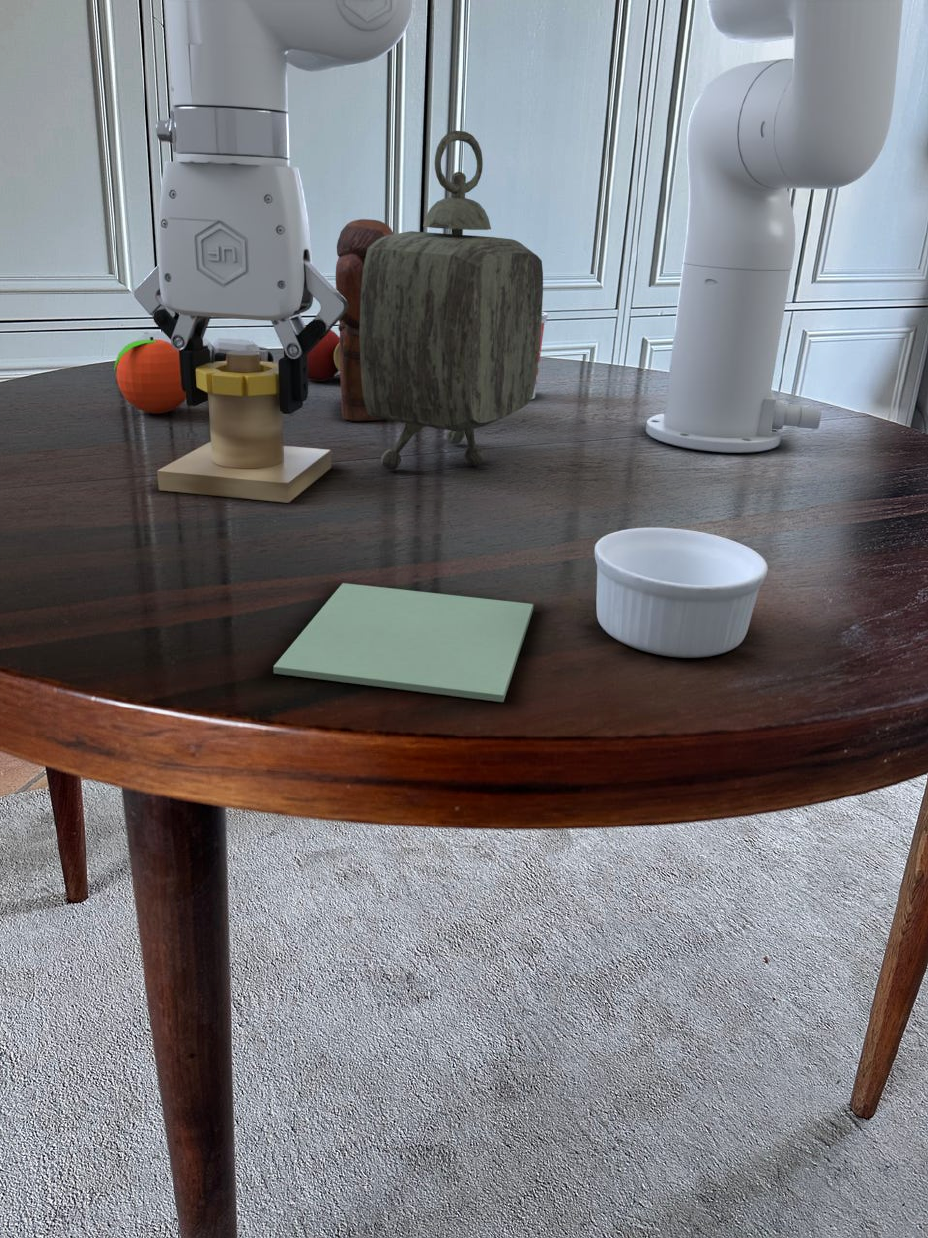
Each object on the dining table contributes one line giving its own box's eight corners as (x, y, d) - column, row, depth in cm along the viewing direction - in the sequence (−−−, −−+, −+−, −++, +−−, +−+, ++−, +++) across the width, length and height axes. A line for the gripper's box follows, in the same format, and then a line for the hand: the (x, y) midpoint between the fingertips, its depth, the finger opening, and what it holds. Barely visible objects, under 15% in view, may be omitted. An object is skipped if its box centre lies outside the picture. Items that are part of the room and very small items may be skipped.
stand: (331, 467, 80) (329, 347, 76) (288, 503, 71) (284, 368, 67) (215, 457, 82) (207, 338, 78) (158, 490, 73) (147, 358, 69)
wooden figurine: (401, 424, 95) (404, 223, 88) (334, 422, 95) (332, 220, 87) (401, 399, 106) (404, 218, 99) (341, 397, 106) (339, 215, 98)
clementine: (144, 426, 90) (136, 346, 87) (95, 414, 94) (86, 337, 91) (209, 412, 97) (205, 337, 94) (161, 402, 100) (155, 329, 97)
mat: (533, 610, 55) (533, 603, 55) (503, 702, 45) (503, 695, 45) (342, 589, 57) (342, 582, 56) (273, 673, 47) (273, 666, 47)
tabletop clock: (447, 437, 91) (458, 135, 81) (537, 453, 87) (560, 137, 77) (359, 472, 79) (358, 123, 69) (458, 491, 75) (473, 125, 65)
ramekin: (716, 595, 58) (727, 525, 56) (783, 662, 50) (798, 583, 48) (569, 599, 57) (576, 527, 55) (614, 669, 49) (624, 587, 47)
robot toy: (269, 374, 120) (140, 365, 116) (271, 336, 118) (139, 325, 115) (275, 395, 109) (132, 385, 105) (277, 353, 108) (131, 341, 104)
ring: (301, 382, 76) (301, 363, 75) (270, 398, 70) (270, 378, 69) (220, 376, 77) (219, 357, 76) (183, 391, 71) (181, 372, 70)
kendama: (444, 387, 119) (294, 361, 118) (453, 336, 116) (299, 308, 114) (443, 412, 113) (285, 385, 111) (453, 359, 110) (290, 330, 108)
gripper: (84, 134, 65) (112, 407, 72) (339, 144, 62) (342, 426, 69) (140, 139, 72) (160, 388, 79) (371, 148, 69) (371, 405, 76)
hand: (245, 404), depth 74 cm, fingers closed on ring, 6 cm apart
